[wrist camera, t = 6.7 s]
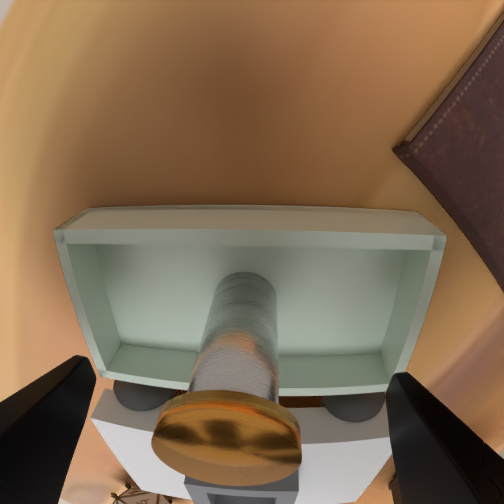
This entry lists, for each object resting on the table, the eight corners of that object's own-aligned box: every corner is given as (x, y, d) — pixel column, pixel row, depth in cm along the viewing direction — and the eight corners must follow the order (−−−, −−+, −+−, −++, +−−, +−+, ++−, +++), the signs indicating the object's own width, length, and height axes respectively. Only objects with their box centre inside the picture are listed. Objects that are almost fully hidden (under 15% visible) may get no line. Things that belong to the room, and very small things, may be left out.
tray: (416, 211, 11) (447, 236, 8) (383, 352, 14) (397, 390, 11) (87, 208, 11) (52, 230, 9) (119, 342, 14) (100, 376, 12)
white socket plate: (386, 369, 14) (414, 458, 9) (348, 456, 18) (355, 521, 13) (117, 358, 15) (76, 438, 10) (155, 447, 19) (137, 508, 14)
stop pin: (292, 260, 11) (312, 423, 5) (287, 334, 13) (293, 487, 6) (198, 258, 11) (133, 410, 5) (205, 331, 13) (167, 478, 7)
